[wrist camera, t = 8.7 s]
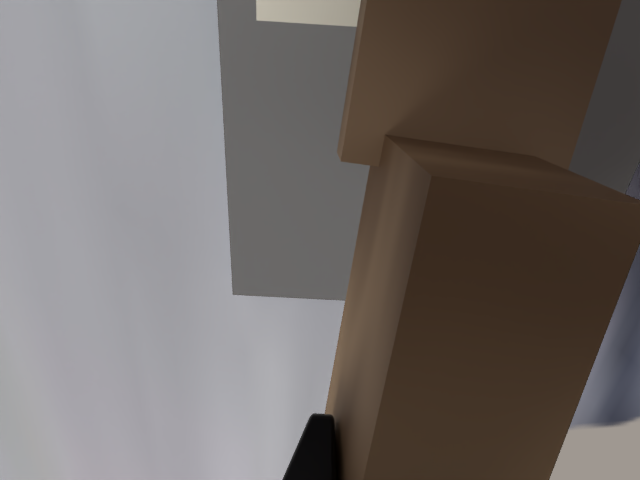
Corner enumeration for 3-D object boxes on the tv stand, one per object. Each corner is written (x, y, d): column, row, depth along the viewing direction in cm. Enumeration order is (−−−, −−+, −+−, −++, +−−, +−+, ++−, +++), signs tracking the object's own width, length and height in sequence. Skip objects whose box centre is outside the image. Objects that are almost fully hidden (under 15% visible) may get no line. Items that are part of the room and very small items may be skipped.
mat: (563, 298, 15) (571, 311, 15) (235, 281, 15) (233, 294, 15) (978, -655, 6) (1032, -701, 6) (187, -731, 6) (174, -784, 6)
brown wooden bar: (390, 675, 13) (423, 884, 10) (254, 669, 13) (240, 884, 10) (640, -160, 7) (945, -350, 4) (394, -212, 7) (490, -468, 4)
